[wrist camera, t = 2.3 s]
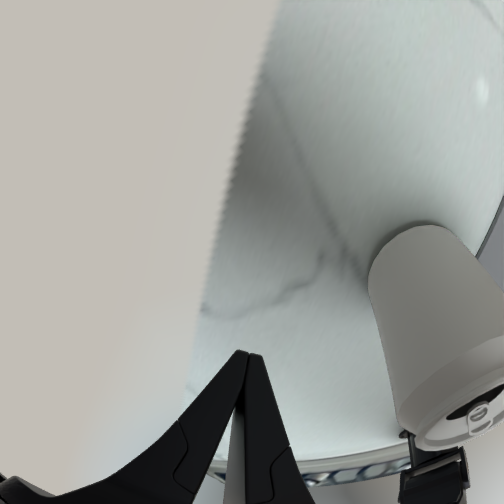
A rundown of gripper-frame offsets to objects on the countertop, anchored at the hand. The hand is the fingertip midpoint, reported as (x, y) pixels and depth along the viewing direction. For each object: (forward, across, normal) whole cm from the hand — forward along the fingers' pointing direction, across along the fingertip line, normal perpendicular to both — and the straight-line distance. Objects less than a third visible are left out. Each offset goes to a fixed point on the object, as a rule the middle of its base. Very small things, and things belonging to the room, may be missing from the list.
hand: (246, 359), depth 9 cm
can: (+10, -10, 0) cm, 15 cm away
